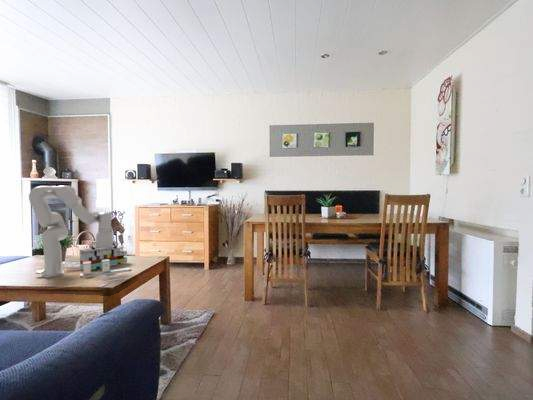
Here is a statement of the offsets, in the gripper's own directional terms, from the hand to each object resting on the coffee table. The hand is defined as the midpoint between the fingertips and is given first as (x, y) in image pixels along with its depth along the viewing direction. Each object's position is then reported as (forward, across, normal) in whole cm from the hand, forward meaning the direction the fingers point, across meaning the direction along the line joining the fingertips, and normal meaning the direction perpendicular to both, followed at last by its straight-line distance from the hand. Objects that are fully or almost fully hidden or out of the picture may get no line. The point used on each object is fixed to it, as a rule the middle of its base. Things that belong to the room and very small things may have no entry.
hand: (104, 255), depth 206 cm
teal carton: (+11, -1, +1) cm, 11 cm away
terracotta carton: (+12, +10, +1) cm, 15 cm away
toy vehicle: (+13, -2, -19) cm, 23 cm away
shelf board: (+12, -1, +1) cm, 12 cm away
